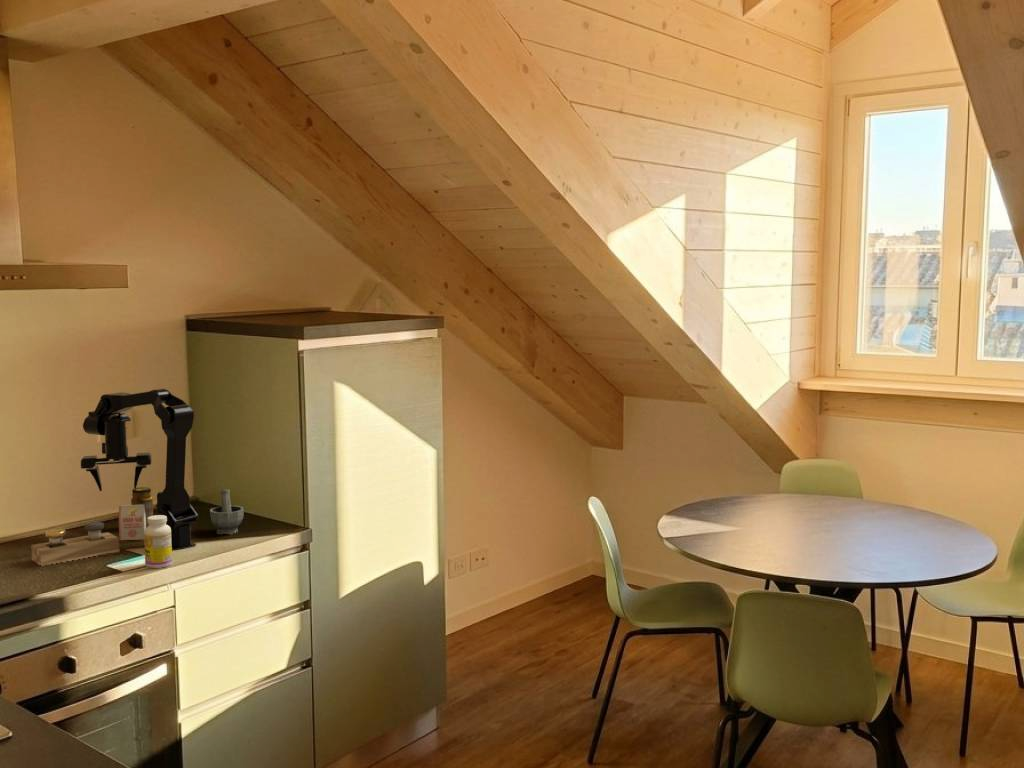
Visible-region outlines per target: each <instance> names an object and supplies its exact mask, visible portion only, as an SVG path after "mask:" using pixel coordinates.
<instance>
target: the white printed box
mask: <svg viewBox="0 0 1024 768" xmlns="http://www.w3.org/2000/svg"><path fill="white" fill-rule="evenodd" d="M145 528H146V515H145V507H144V505H131V504H127V505H125V504H124V505H118V538H119V541H121V540H141V541H144V530H145ZM121 542H122V541H121Z"/></svg>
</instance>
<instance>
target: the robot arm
mask: <svg viewBox="0 0 1024 768" xmlns="http://www.w3.org/2000/svg"><path fill="white" fill-rule="evenodd" d="M163 404H165V405H166V406H164V405H163ZM146 405H147V406H148V405H151V406H152V407H153V411H154V414H155V415H156V417H158V418H159V420H160V422H161V423H160V424H161V429H162V430H163V433H164V435H165V436H166V456H165V457H166V459H165V460H166V461H165V483H164V484H165V486H164V489H163V491H159V492H157V494H156V504H155V505H156V506H155V507H156V508H157V514H158V515H165V516H167V522H166V525H168V526H169V527H170V528H171V543H172V551H173V550H174V551H175V550H180V549H185V548H191V547H196V546H197V544H196V543H195V542H193V541H192V535H191V533H192V530H191V529H192V528H191V524H193V523H197V522H198V518H199V513H197V512H196V510H195V509H194V507H193V506H192V505H191V501H190V494H189V493H188V491H187V489H186V488H185V478H186V477H185V476H186V475H185V474H186V451H187V450H186V446H187V445H186V444H187V437H188V435H189V433H190V431H191V430H192V428H193V424H194V418H195V413H194V409H192V407H191V406H190V404H189V405H188V404H187V402H185V400H183V399H181V398H180V397H178V396H176V395H174V394H172V392H170V391H169V390H168V389H166V388H158V389H152V390H150V391H143V392H137V393H130V392H114V393H105V394H102V395H101V396H100V399H99V401H98V403H97V404H96V407H95V409H94V410H93V411H92V410H91V411H88V415H87V416H85V418H84V420H83V423H82V428H83V431H84V432H85V433H87V434H88V435H96V436H104V442H102V443H101V454H102V455H105V457H98V455H97V454H96V455H84V456H83V457H82V458H81V459H80V469H83V470H84V469H85V471H86V472H89V473H90V474H91V476H92V477H93V479H94V481H95V483H96V485H97V488H98V490H99V491H100V492H102V491H103V486H102V485H103V484H102V479H101V473H100V465H116V464H131V463H132V464H133V463H136V465H135V467H134V469H135V470H134V478H133V479H134V482H133V487H134V488H133V489H136V488H137V486H138V482H139V480H140V479H139V478H140V476H141V473H142V471H143V469H147V466H151V465H152V461H153V460H152V459H153V458H152V454H151V453H150V452H137V453H136V455H133V456H132V455H131V456H129V446H128V444H127V442H128V441H127V426H126V425H127V423H126V422H130V421H131V420H132V419H131V418H130V417H129V415H127V414H126V412H127V411H130V410H132V409H133V408H134V407H140V406H141V407H142V406H146Z"/></svg>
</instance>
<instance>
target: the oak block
mask: <svg viewBox="0 0 1024 768" xmlns="http://www.w3.org/2000/svg"><path fill="white" fill-rule="evenodd" d="M30 549H31V560H32V561H33V562H34V563H35V564H37V565H38V566H40V565H41V567H46V566H45V565H47V566H52V565H51V564H53V565H56V563H58V564H61V563H60V562H63V563H67V562H66V561H69V562H73V561H72V560H74V561H78V559H80V560H84V559H83V558H85V559H89V558H88V557H91V558H93V557H92V556H96V557H98V556H97V555H101V554H106V553H111V552H117V551H119V552H120V542H119V536H116V535H114V534H113V533H110V532H107V531H106V532H101V539H100V540H94V541H89V540H88V535H85V536H84V535H83V536H77V537H72V538H71V537H70V538H66V539H63V546H59V547H53V548H50V547H49V541H48V542H42V543H36V544H31V546H30Z"/></svg>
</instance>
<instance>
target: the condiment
mask: <svg viewBox="0 0 1024 768" xmlns="http://www.w3.org/2000/svg"><path fill="white" fill-rule="evenodd" d="M131 492H132V495H131V496H132V497H131V499H130V502H131V504H130V505H144V507H145V515H146V527H148V526H149V524H148V517H150V516H154V500H153V496H152V489H151V487H147V486H145V487H143V486H140V487H136V489H134V488H132V491H131Z"/></svg>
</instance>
